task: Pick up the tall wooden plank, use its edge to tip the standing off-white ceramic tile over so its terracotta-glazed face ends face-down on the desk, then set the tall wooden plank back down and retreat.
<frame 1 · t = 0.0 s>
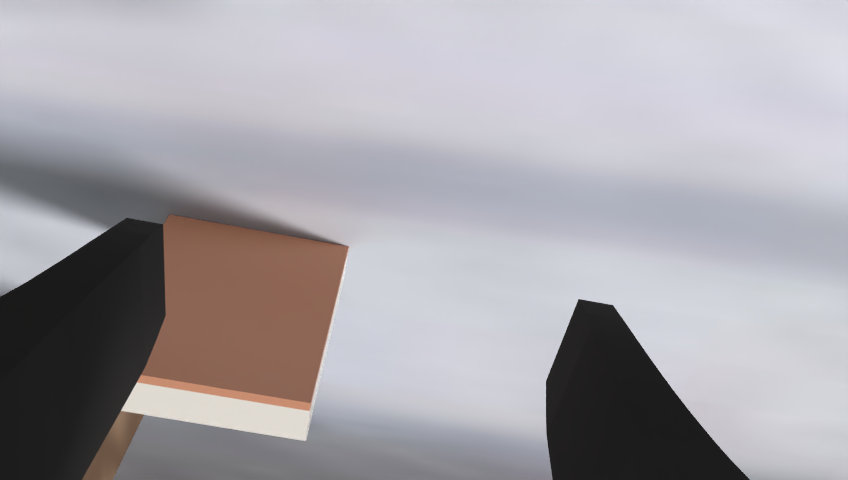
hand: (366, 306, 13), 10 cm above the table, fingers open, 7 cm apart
tall wooden plank: (94, 346, 28), on the table
tile: (258, 248, 25), on the table
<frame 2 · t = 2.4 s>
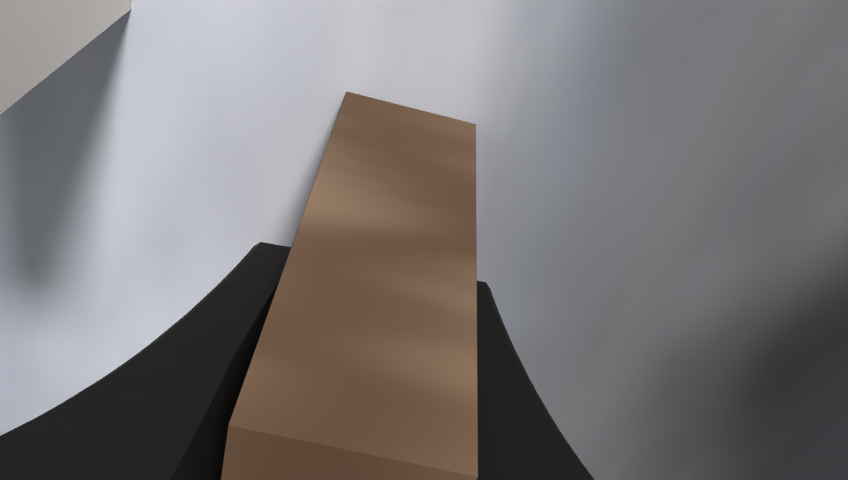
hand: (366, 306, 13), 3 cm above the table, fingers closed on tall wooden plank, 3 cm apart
tall wooden plank: (383, 215, 15), on the table, touching gripper
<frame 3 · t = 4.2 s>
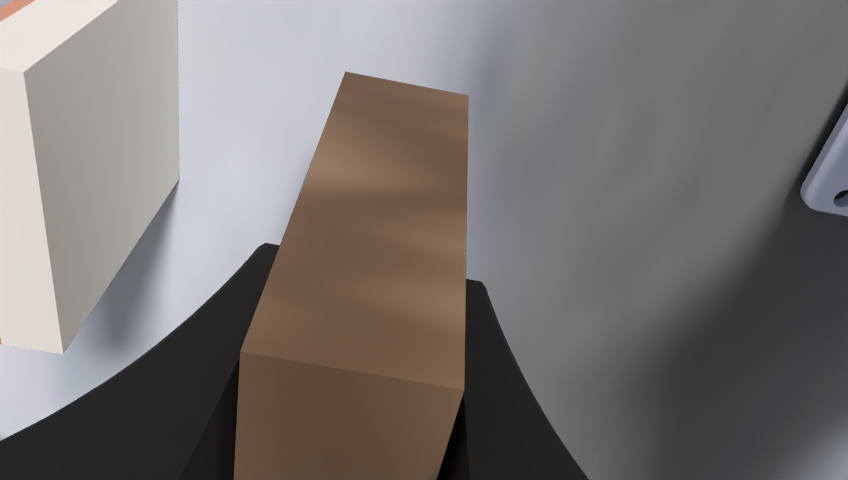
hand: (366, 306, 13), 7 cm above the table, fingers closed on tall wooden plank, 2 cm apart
tall wooden plank: (388, 188, 16), point 3 cm above the table, touching gripper
tile: (148, 71, 18), on the table
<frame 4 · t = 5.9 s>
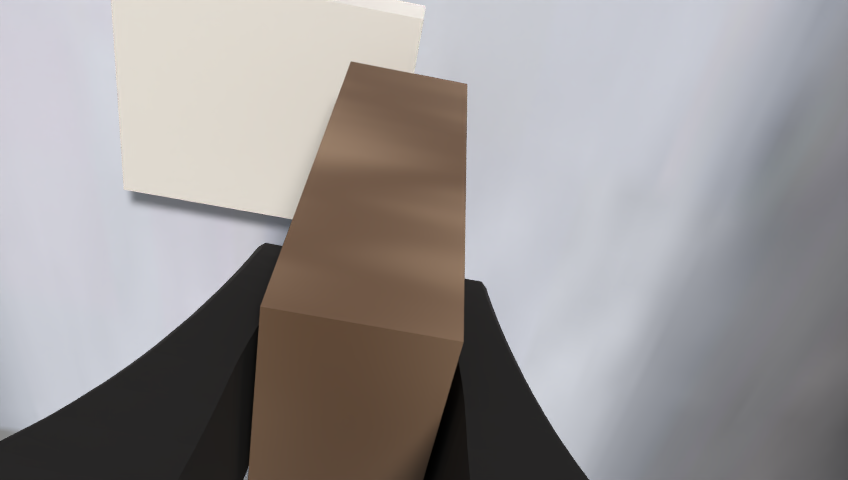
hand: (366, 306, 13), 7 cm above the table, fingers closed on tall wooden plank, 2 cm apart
tall wooden plank: (391, 173, 17), point 2 cm above the table, touching gripper
tile: (404, 124, 19), on the table, tilted 90°
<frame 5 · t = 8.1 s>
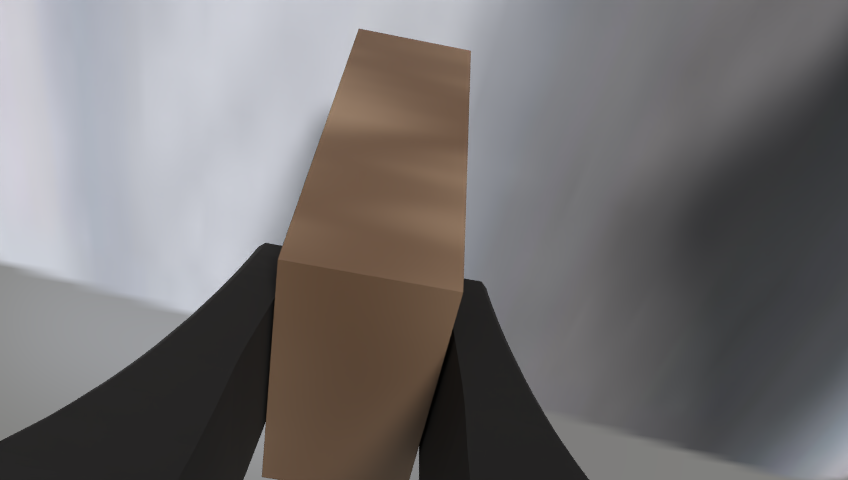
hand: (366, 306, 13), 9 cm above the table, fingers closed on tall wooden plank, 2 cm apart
tall wooden plank: (397, 137, 18), point 3 cm above the table, touching gripper
when the fingers open (4 cm above the table, at t = 9.3 s): tall wooden plank stays where it is, on the table.
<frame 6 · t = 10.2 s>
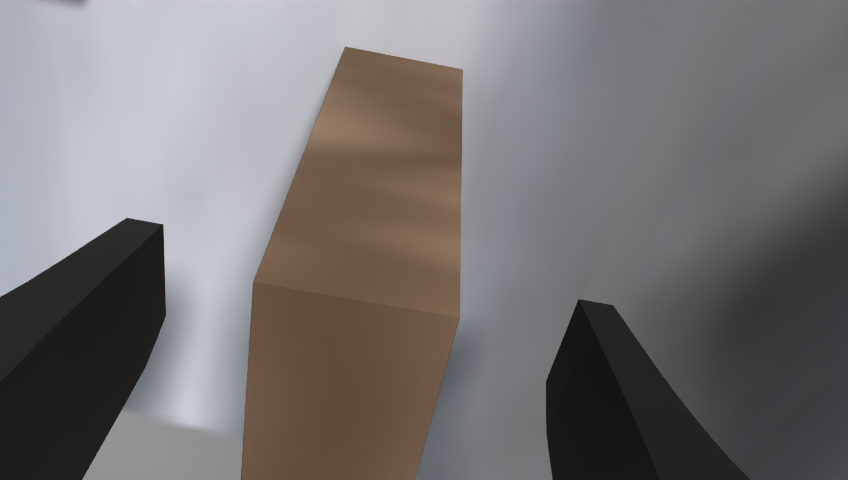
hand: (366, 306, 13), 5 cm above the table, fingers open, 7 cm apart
tall wooden plank: (386, 161, 17), on the table
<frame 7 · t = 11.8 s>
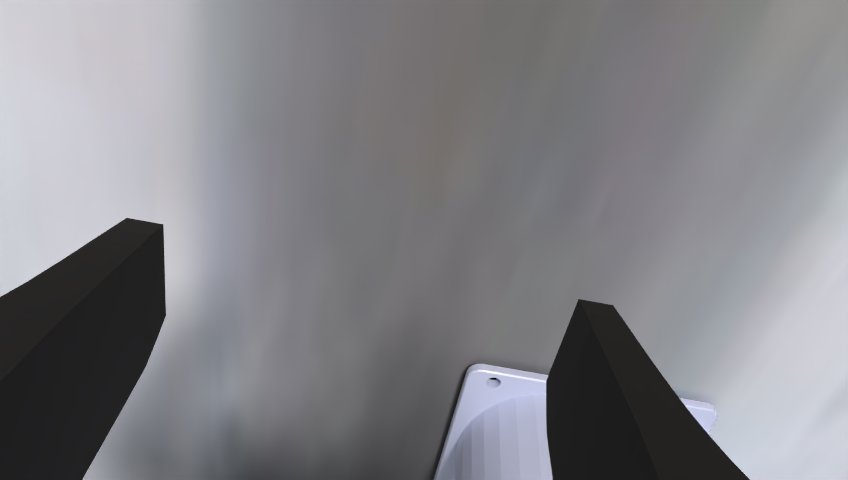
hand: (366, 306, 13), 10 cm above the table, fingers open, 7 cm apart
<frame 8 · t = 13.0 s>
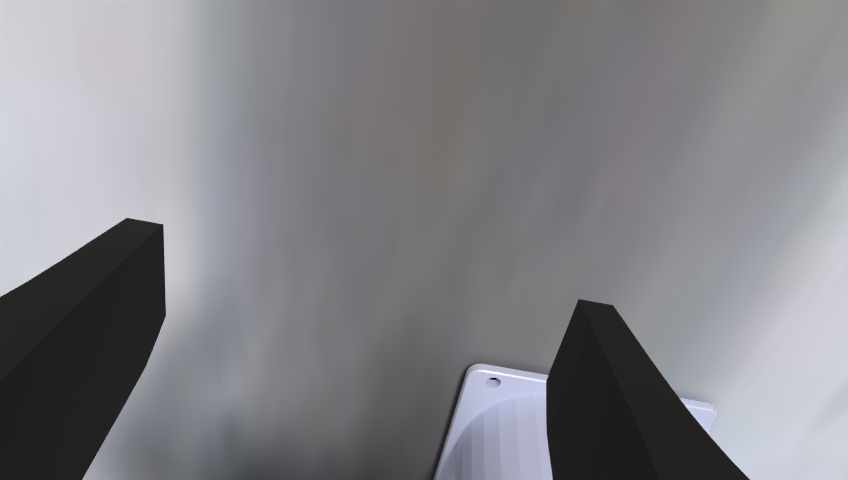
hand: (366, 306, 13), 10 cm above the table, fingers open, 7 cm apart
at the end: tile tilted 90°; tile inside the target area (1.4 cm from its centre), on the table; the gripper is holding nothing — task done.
